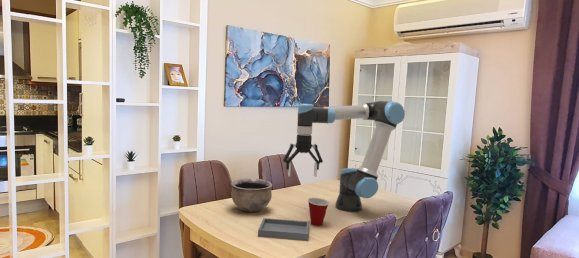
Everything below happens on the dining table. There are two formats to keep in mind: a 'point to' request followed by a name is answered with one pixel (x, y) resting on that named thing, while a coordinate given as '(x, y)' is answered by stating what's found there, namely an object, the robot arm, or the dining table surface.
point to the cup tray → (284, 229)
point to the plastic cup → (317, 210)
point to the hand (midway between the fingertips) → (302, 176)
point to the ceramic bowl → (251, 194)
